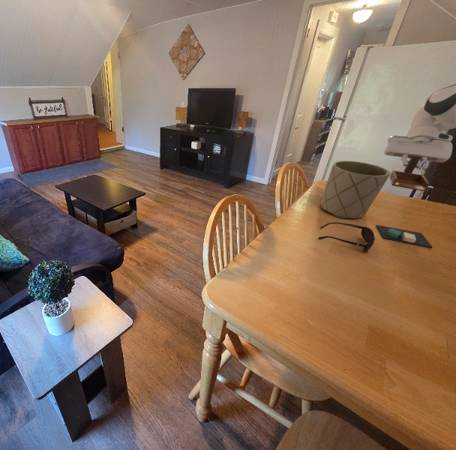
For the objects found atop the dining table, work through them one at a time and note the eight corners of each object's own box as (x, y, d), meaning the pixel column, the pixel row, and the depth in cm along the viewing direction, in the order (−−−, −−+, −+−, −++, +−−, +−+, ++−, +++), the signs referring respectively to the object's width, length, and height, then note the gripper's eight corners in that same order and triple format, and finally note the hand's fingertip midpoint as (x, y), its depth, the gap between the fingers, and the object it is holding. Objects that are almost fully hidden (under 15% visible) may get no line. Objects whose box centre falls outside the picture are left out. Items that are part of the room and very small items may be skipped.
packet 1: (388, 231, 92) (386, 234, 93) (398, 235, 90) (396, 238, 91) (392, 228, 94) (389, 231, 95) (401, 231, 92) (399, 235, 93)
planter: (308, 201, 118) (323, 161, 107) (346, 200, 119) (365, 160, 108) (334, 222, 102) (355, 176, 91) (378, 221, 102) (404, 176, 92)
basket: (388, 175, 109) (400, 153, 104) (418, 180, 105) (432, 157, 99) (391, 185, 100) (405, 161, 94) (425, 191, 95) (441, 166, 89)
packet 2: (405, 237, 89) (403, 240, 90) (416, 239, 88) (413, 243, 88) (403, 232, 92) (401, 235, 93) (414, 234, 90) (412, 238, 91)
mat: (420, 234, 94) (421, 232, 94) (431, 248, 87) (432, 247, 86) (376, 225, 99) (376, 224, 99) (383, 238, 92) (383, 237, 91)
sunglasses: (371, 257, 82) (378, 245, 80) (317, 242, 89) (322, 231, 87) (367, 238, 92) (373, 226, 89) (319, 226, 99) (323, 215, 96)
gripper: (392, 130, 107) (383, 158, 105) (458, 136, 97) (449, 167, 95) (386, 139, 112) (377, 165, 111) (448, 146, 102) (439, 174, 101)
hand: (411, 166), depth 103 cm, fingers closed on basket, 2 cm apart
